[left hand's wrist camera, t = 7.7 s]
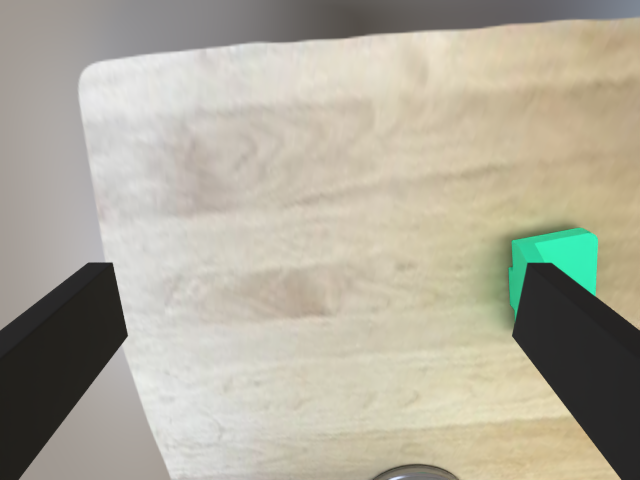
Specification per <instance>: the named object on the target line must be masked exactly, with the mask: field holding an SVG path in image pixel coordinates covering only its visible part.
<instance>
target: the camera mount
mask: <svg viewBox="0 0 640 480" xmlns="http://www.w3.org/2000/svg"><path fill="white" fill-rule="evenodd" d="M597 250H598V238H597V236H596V235H594V234H593V233H591V232H589V231H587V230H585V229H583V228H575V229H570V230H564V231H559V232H554V233H549V234H543V235H538V236H533V237H528V238H522V239H517V240H512V259H513V267H510V268H508V269H509V291H510V305H511V306H512V308H513V309H514V310H515V320H516V315H517V310H518V305H519V300H520V296H521V291H522V286H523V281H524V277H525V272H526V267H527V263H553V264H554V265H555V266H557V267H558V268H559V269H561V270H562V271H563V272H565V273H566V274H567V275H568V276H570V277H571V278H572V279H574V280H575V281H576V282H577V283H579V284H580V285H581V286H583V287H584V288H585V289H587V290H588V291H589V292H590V293H592V294H593V295H594V296H595V294H596V272H597Z"/></svg>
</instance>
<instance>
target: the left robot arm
mask: <svg viewBox="0 0 640 480" xmlns="http://www.w3.org/2000/svg"><path fill="white" fill-rule="evenodd" d="M127 337H128V334H127V329H126V324H125V320H124V315H123V310H122V305H121V300H120V296H119V291H118V286H117V281H116V277H115V272H114V267H113V263H87V264H86V265H85V266H83V267H82V268H81V269H79V270H78V271H77V272H75V273H74V274H73V275H72V276H70V277H69V278H68V279H66V280H65V281H64V282H63V283H61V284H60V285H59V286H57V287H56V288H55V289H53V290H52V291H51V292H50V293H48V294H47V295H46V296H44V297H43V298H42V299H41V300H39V301H38V302H37V303H35V304H34V305H33V306H31V307H30V308H29V309H28V310H26V311H25V312H24V313H22V314H21V315H20V316H19V317H17V318H16V319H15V320H13V321H12V322H11V323H9V324H8V325H7V326H6V327H4V328H3V329H2V330H0V480H19V478H20V477H21V476H22V474H23V473H24V472H25V471H26V469H27V468H28V467H29V465H30V464H31V463H32V461H33V460H34V459H35V457H36V456H37V455H38V453H39V452H40V451H41V450H42V448H43V447H44V446H45V444H46V443H47V442H48V440H49V439H50V438H51V436H52V435H53V434H54V432H55V431H56V430H57V429H58V427H59V426H60V425H61V423H62V422H63V421H64V419H65V418H66V417H67V415H68V414H69V413H70V411H71V410H72V409H73V407H74V406H75V405H76V404H77V402H78V401H79V400H80V398H81V397H82V396H83V394H84V393H85V392H86V390H87V389H88V388H89V386H90V385H91V384H92V382H93V381H94V380H95V379H96V377H97V376H98V375H99V373H100V372H101V371H102V369H103V368H104V367H105V365H106V364H107V363H108V362H109V360H110V359H111V358H112V356H113V355H114V354H115V352H116V351H117V350H118V348H119V347H120V346H121V344H122V343H123V342H124V341H125V339H126V338H127ZM512 337H513V338H514V339H515V341H516V342H517V343H518V344H519V346H520V347H521V348H522V350H523V351H524V352H525V354H526V355H527V356H528V358H529V359H530V360H531V362H532V363H533V364H534V365H535V367H536V368H537V369H538V371H539V372H540V373H541V375H542V376H543V377H544V379H545V380H546V381H547V383H548V384H549V385H550V386H551V388H552V389H553V390H554V392H555V393H556V394H557V396H558V397H559V398H560V400H561V401H562V402H563V404H564V405H565V406H566V408H567V409H568V410H569V411H570V413H571V414H572V415H573V417H574V418H575V419H576V421H577V422H578V423H579V425H580V426H581V427H582V429H583V430H584V431H585V432H586V434H587V435H588V436H589V438H590V439H591V440H592V442H593V443H594V444H595V446H596V447H597V448H598V450H599V451H600V452H601V453H602V455H603V456H604V457H605V459H606V460H607V461H608V463H609V464H610V465H611V467H612V468H613V469H614V471H615V472H616V473H617V475H618V476H619V477H620V478H621V480H640V330H638V329H637V328H636V327H634V326H633V325H632V324H631V323H629V322H628V321H627V320H625V319H624V318H623V317H621V316H620V315H619V314H618V313H616V312H615V311H614V310H612V309H611V308H610V307H609V306H607V305H606V304H605V303H603V302H602V301H601V300H599V299H598V298H597V297H596V296H594V295H593V294H592V293H590V292H589V291H588V290H587V289H585V288H584V287H583V286H581V285H580V284H579V283H577V282H576V281H575V280H574V279H572V278H571V277H570V276H568V275H567V274H566V273H565V272H563V271H562V270H561V269H559V268H558V267H557V266H555V265H554V264H553V263H527V267H526V272H525V277H524V281H523V286H522V291H521V296H520V300H519V305H518V310H517V315H516V320H515V324H514V329H513V334H512ZM373 480H458V479H457V478H456V477H454V476H453V475H452V474H450V473H448V472H446V471H444V470H442V469H439V468H435V467H431V466H423V465H412V466H404V467H399V468H395V469H392V470H389V471H387V472H385V473H383V474H381V475H379V476H378V477H376V478H375V479H373Z"/></svg>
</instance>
